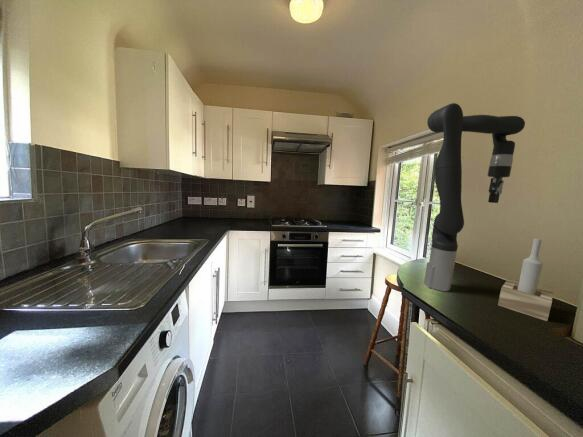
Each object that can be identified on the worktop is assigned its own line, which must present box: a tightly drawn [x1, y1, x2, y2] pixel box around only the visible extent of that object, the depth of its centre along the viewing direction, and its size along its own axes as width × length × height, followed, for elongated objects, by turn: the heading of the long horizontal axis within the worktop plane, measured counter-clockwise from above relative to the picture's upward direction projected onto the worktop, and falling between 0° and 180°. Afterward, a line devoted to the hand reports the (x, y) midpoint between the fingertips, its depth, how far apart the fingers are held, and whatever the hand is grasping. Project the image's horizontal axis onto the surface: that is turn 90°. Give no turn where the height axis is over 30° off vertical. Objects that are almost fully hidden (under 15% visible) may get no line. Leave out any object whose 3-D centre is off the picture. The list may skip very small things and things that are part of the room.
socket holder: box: [497, 280, 554, 322], centre depth 90 cm, size 13×13×7 cm
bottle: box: [518, 238, 544, 295], centre depth 89 cm, size 5×5×25 cm
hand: (493, 202), depth 107 cm, fingers open, 8 cm apart
